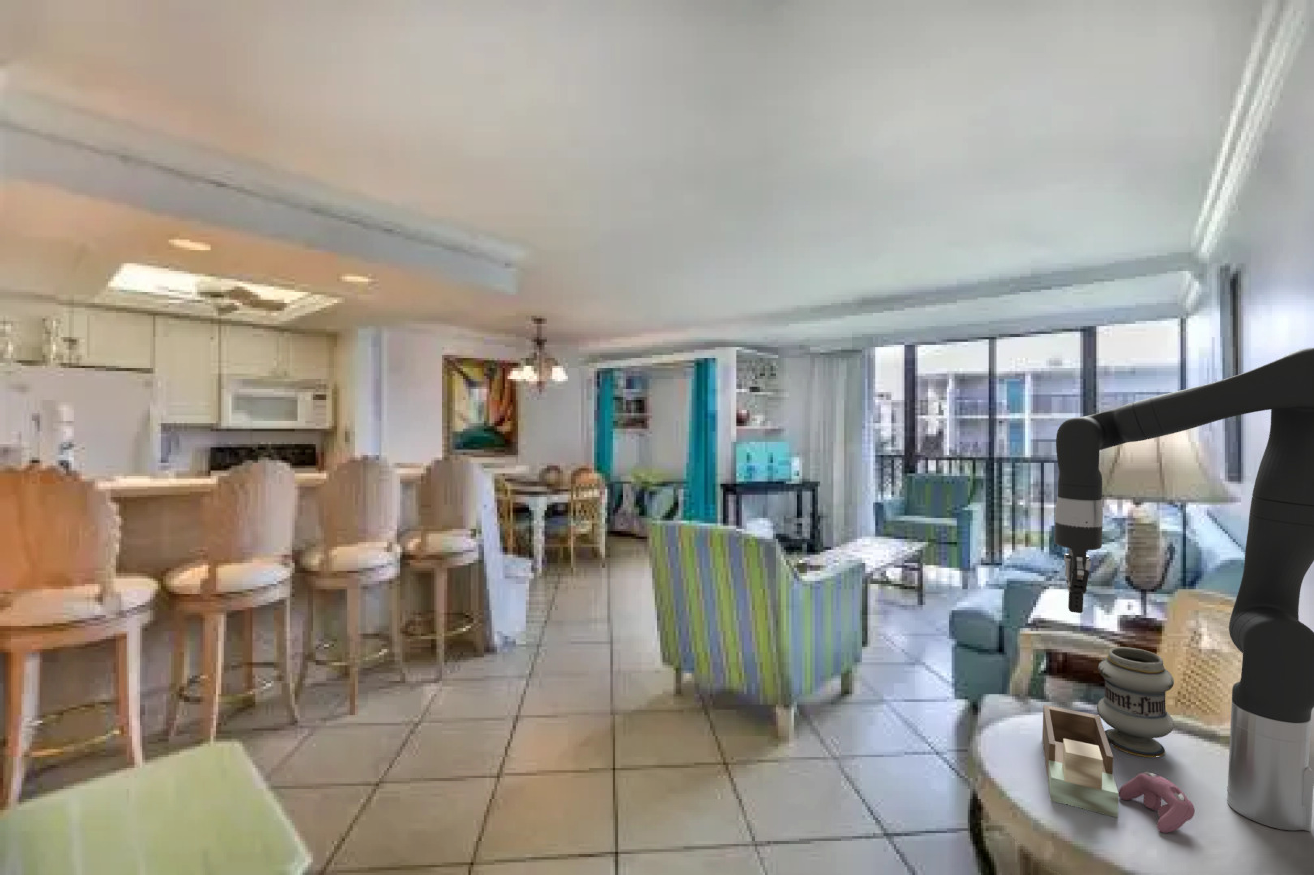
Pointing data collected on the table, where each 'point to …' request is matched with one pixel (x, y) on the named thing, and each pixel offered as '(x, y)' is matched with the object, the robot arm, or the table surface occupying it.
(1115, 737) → the apothecary jar
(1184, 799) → the video game controller
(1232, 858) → the table surface
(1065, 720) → the channel
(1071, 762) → the maple block
